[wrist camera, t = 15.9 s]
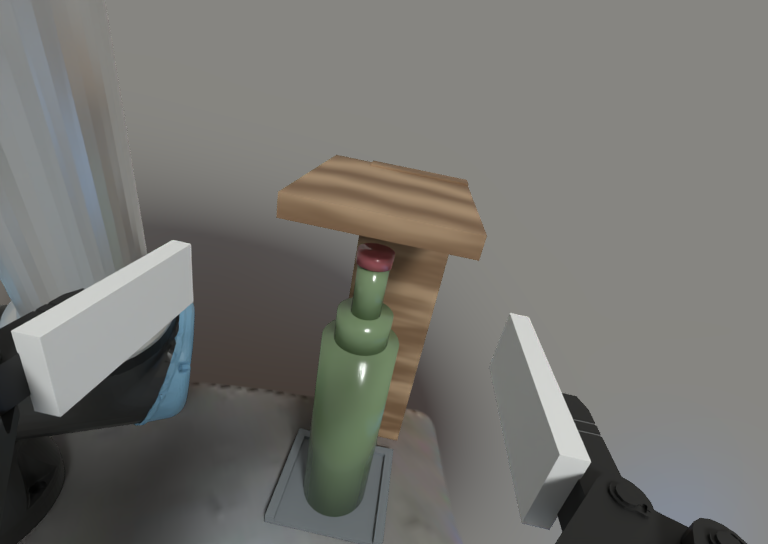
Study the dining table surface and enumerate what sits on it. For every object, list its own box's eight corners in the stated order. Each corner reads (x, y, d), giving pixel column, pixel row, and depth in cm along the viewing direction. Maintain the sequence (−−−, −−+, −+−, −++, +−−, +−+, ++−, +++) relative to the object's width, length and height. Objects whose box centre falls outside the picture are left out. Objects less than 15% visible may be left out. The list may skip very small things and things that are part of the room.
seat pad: (381, 548, 41) (382, 543, 41) (264, 521, 42) (264, 515, 41) (391, 454, 52) (393, 449, 52) (298, 433, 52) (299, 428, 52)
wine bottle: (290, 486, 45) (314, 244, 32) (333, 448, 51) (370, 228, 37) (335, 531, 42) (385, 280, 28) (377, 484, 47) (435, 256, 34)
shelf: (385, 554, 41) (487, 233, 25) (257, 525, 41) (278, 188, 25) (398, 429, 56) (466, 180, 40) (305, 408, 57) (336, 153, 41)
